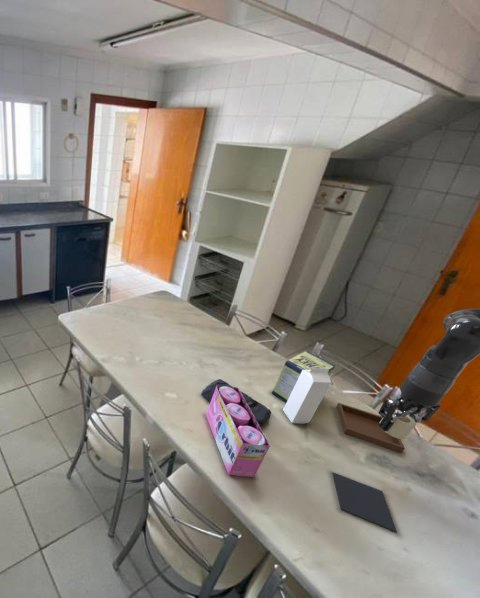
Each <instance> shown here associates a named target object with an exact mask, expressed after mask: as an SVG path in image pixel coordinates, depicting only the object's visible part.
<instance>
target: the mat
mask: <svg viewBox="0 0 480 598" xmlns="http://www.w3.org/2000/svg"><path fill="white" fill-rule="evenodd" d="M331 474H332V477H333V482H334V486H335V490H336V494H337V495H336V496H337V498H338V503H339V507H340V510H341V511H343V512H346V513H348V514H351V515H353V516H355V517H358V518H360V519H363V520H365V521H368V522H369V523H372V524H374V525H377V526H379V527H382V528H384V529H387V530H388V531H389V530H390V531H391V532H394V533H397V532H398V530H397V527H396V524H395V523H394V520H393V517H392V514H391V512H390V509H389V505H388V502H387V500H386V497H385V495H384V493H383V491H382V490H380V489H378V488H375V487H372V486H370V485H367V484H365V483H362V482H360V481H357V480H354V479H352V478H349V477H346V476H343V475H341V474H339V473H336V472H332V473H331Z"/></svg>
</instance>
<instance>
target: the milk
mask: <svg viewBox="0 0 480 598" xmlns="http://www.w3.org/2000/svg"><path fill="white" fill-rule="evenodd" d="M328 371H329V369H323V368H312V369H311V370H302V372H301V374H300V376H299V378H298V380H297V382H296V384H295V386H294V388H293V390H292V392H291V394H290V396H289V399H288V401H287V403H286V402H285V405H284V406H283V409H282V412H283V413H284V414H285V416H286V417H287V419H288V420H289V421H290V422H291V424H301V425H307V424H308V423H310V422H311V420H312V418H313V417H314V415H315V413H316V412H317V409H318V407H319V406H320V405H321V402H322V401H323V399H324V397H325V396H326V393H327V391H328V390H329V388H330V387H331V385H332V381H331V378H330V376H329V375H328Z"/></svg>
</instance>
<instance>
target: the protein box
mask: <svg viewBox="0 0 480 598" xmlns="http://www.w3.org/2000/svg"><path fill="white" fill-rule="evenodd" d="M335 367H336V365H335V364H333V363H331V362H329V361H327V360H325V359H323V358H321V357H320V356H317V355H316V354H314V353H312V352H310V351H309V350H304V351H303V352H301V353H299V354H297V355H295V356H293V357H291V358H290V359H288V360H286V361H285V362H284V365H283V367H282V369H281V371H280V373H279V376H278V378H277V380H276V383H275V385H274V387H273V389H272V392H271V394H272V395H274V396H275V397H277V398H279V399H280V400H281V401H283V402H285V404H286V403H287V401H288V399H289V396H290V394H291V392H292V390H293V388H294V386H295V384H296V382H297V380H298V378H299V376H300V374H301V372H302V370H311V369H312V368H323V369H329V371H328V375H329V377H330V376H331V375H332V373H333V371H334V368H335Z"/></svg>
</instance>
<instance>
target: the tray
mask: <svg viewBox="0 0 480 598" xmlns="http://www.w3.org/2000/svg"><path fill="white" fill-rule="evenodd" d="M335 408H336V412H337V415H338V419H339V422H340V426H341V428H342V432H343V434H345V435H347V436H351V437H353V438H357V439H359V440H362V441H364V442H368V443H371V444H373V445H377V446H380V447H383V448H385V449H388V450H391V451H394V452H397V453H400V454H402V453H403V452H404V450H405V449H406V448H405V445H404V443H403V441H402V439H398V438H395V437H393V436H391V435H389V434H387V433H386V432H384V431H383V430H382V429H381V428H380V427H379V423H380V421H381V420H382V418H383V417H382V416H381V415H380V414H376V413H372V412H369V411H366V410H363V409H359V408H356V407H355V406H350V405H348V404H344V403H341V402H337V405H336V406H335Z"/></svg>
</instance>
